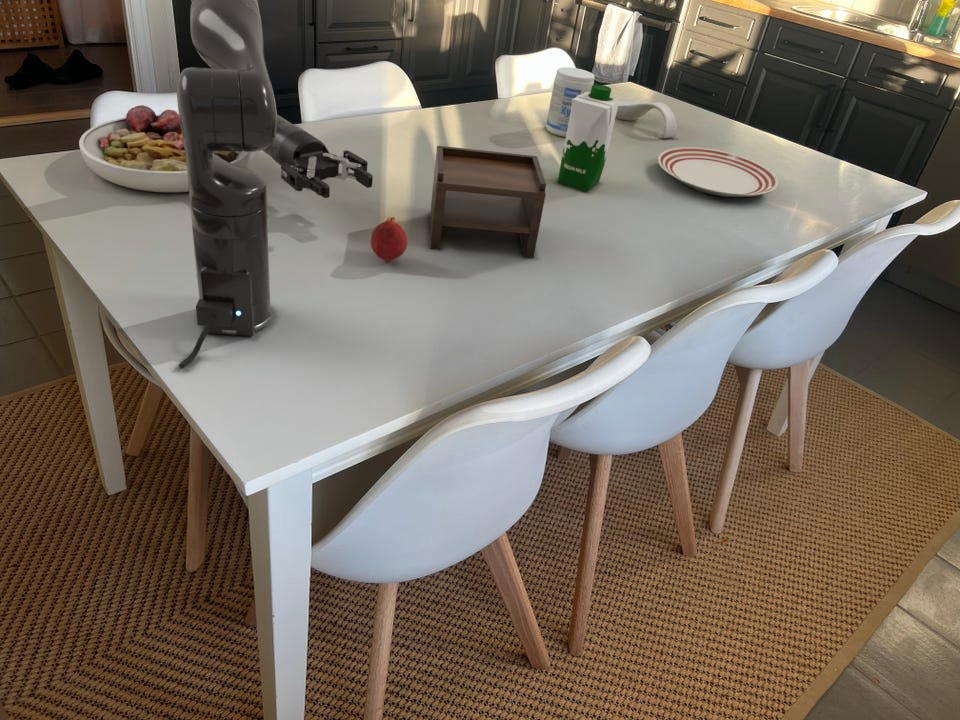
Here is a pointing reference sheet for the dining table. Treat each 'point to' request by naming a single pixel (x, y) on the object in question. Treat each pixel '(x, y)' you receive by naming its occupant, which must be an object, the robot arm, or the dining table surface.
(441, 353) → the dining table surface
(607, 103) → the milk carton
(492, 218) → the shelf stand
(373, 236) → the onion
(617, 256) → the dining table surface
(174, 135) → the bowl
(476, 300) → the dining table surface
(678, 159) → the dinner plate
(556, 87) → the supplement tub
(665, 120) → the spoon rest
